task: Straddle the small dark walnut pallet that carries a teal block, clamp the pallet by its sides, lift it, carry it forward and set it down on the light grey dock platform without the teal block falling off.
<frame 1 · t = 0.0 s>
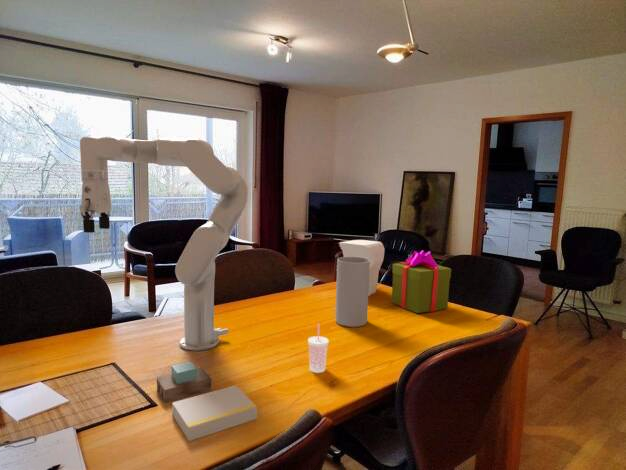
hand: (97, 230, 137), 37 cm above the table, fingers open, 9 cm apart
teal block: (184, 377, 111), point 3 cm above the table, touching pallet
cylinder vase: (350, 322, 168), on the table
pallet: (184, 390, 112), on the table, touching teal block
dock: (214, 416, 100), on the table
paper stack: (364, 293, 211), on the table
gift box: (418, 306, 191), on the table
beverage cup: (317, 369, 126), on the table
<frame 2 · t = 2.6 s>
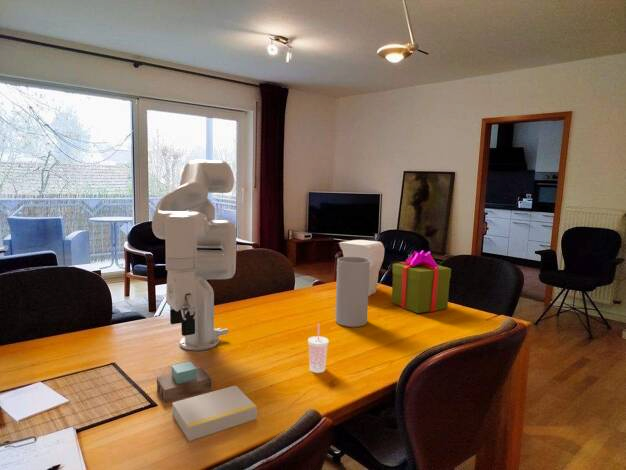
hand: (182, 328, 109), 17 cm above the table, fingers open, 9 cm apart
nothing on the table moved.
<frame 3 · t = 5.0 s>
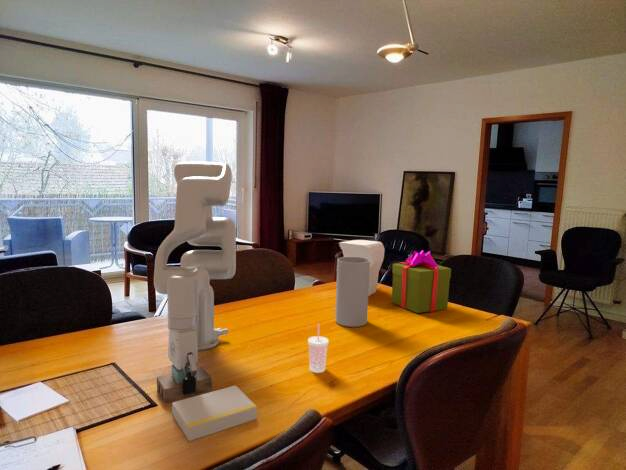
hand: (184, 385, 111), 1 cm above the table, fingers closed on pallet, 7 cm apart
pallet: (184, 390, 111), on the table, touching teal block, gripper
everything else where it was.
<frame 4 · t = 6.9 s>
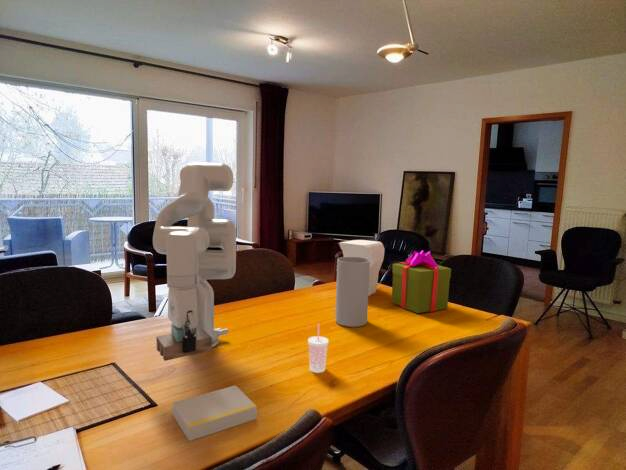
hand: (184, 345, 111), 12 cm above the table, fingers closed on pallet, 7 cm apart
teal block: (184, 336, 110), point 14 cm above the table, touching pallet
pallet: (184, 349, 111), point 11 cm above the table, touching teal block, gripper
everything else where it was.
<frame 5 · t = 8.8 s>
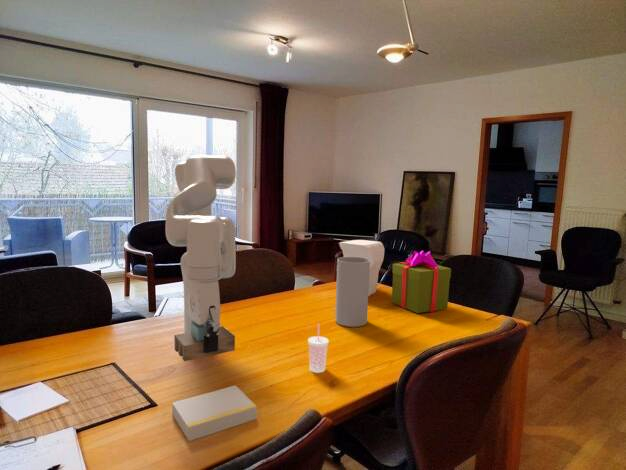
hand: (204, 345, 101), 16 cm above the table, fingers closed on pallet, 7 cm apart
teal block: (204, 335, 100), point 18 cm above the table, touching pallet
pallet: (204, 350, 101), point 15 cm above the table, touching teal block, gripper
everything else where it was.
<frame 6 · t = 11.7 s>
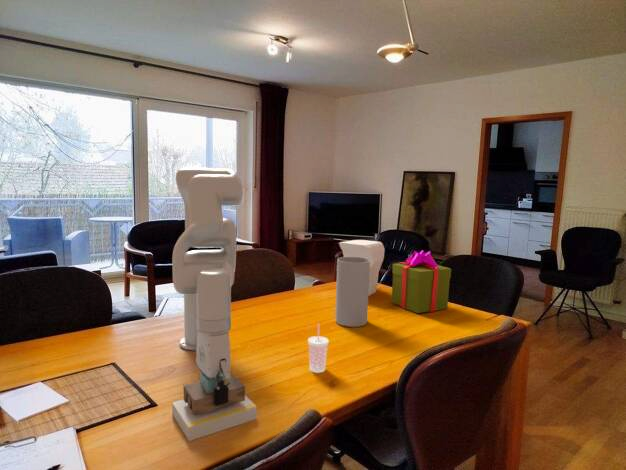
hand: (214, 395, 99), 5 cm above the table, fingers closed on pallet, 7 cm apart
teal block: (214, 385, 99), point 8 cm above the table, touching pallet
pallet: (214, 400, 99), point 4 cm above the table, touching teal block, gripper
everything else where it was.
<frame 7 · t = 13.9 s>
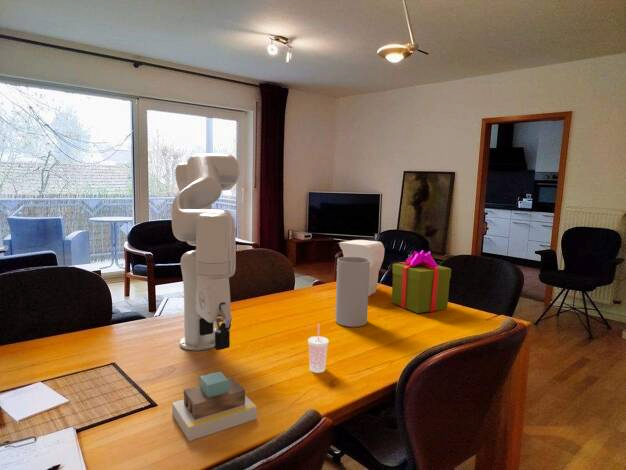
hand: (214, 341, 98), 18 cm above the table, fingers open, 9 cm apart
teal block: (214, 390, 99), point 7 cm above the table, touching pallet
pallet: (214, 404, 99), point 3 cm above the table, touching teal block, dock
everything else where it was.
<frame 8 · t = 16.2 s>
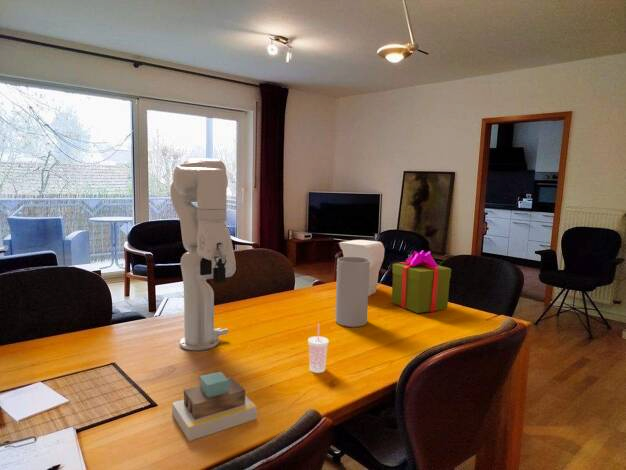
hand: (212, 278, 115), 28 cm above the table, fingers open, 9 cm apart
nothing on the table moved.
at the end: pallet 0.1 cm off-centre on the dock, point 3.0 cm above the dock's base; teal block inside the target area on the pallet (0.2 cm from its centre), point 3.6 cm above the pallet's base; the gripper is holding nothing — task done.
